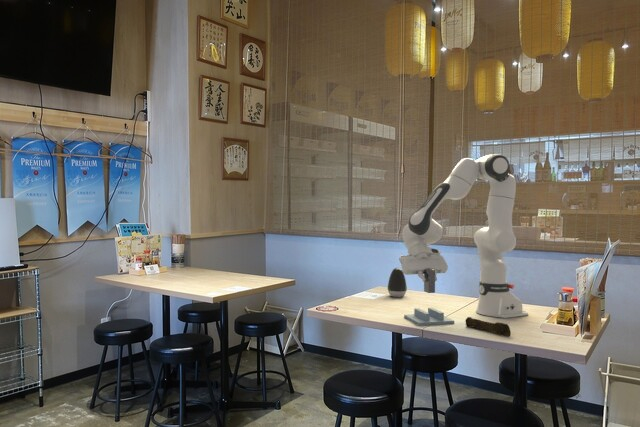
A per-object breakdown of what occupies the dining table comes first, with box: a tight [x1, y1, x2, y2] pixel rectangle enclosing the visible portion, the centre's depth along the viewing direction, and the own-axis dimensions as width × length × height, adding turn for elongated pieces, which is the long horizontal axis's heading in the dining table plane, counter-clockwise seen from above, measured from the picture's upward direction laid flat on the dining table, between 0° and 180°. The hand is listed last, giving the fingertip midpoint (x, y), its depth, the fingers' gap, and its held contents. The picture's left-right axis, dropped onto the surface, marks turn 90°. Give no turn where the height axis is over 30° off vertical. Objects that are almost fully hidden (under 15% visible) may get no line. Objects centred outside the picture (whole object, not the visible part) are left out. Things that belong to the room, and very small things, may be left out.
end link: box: [423, 268, 436, 294], centre depth 201 cm, size 3×4×10 cm
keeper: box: [404, 307, 455, 327], centre depth 201 cm, size 16×14×4 cm
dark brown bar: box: [464, 316, 512, 337], centre depth 186 cm, size 19×4×5 cm, turn 34°
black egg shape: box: [386, 267, 408, 298], centre depth 253 cm, size 10×10×15 cm
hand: (430, 280), depth 201 cm, fingers closed on end link, 3 cm apart
